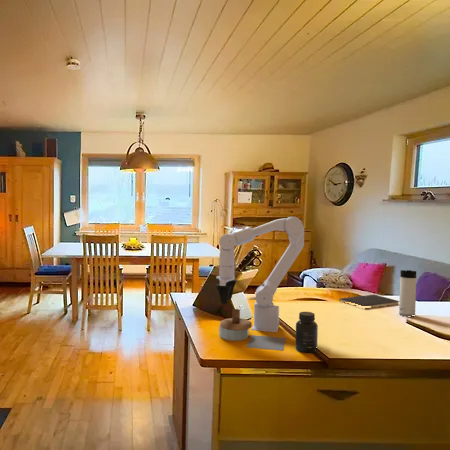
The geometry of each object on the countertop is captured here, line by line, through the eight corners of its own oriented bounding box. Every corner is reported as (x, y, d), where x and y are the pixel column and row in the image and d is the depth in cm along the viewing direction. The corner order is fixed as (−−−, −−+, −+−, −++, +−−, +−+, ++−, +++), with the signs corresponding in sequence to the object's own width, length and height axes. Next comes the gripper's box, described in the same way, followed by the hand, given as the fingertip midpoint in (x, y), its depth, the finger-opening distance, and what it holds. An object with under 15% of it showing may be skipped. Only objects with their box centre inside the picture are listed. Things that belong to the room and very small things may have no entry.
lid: (254, 322, 135) (255, 307, 135) (247, 331, 125) (247, 315, 124) (225, 319, 138) (225, 304, 138) (216, 328, 128) (216, 312, 128)
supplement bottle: (292, 346, 123) (293, 310, 122) (313, 346, 123) (314, 310, 123) (298, 354, 116) (299, 316, 115) (320, 354, 116) (321, 316, 116)
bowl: (250, 333, 136) (250, 322, 135) (245, 342, 126) (245, 330, 126) (223, 330, 138) (223, 320, 138) (216, 340, 128) (216, 328, 128)
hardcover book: (399, 305, 181) (399, 301, 181) (363, 310, 171) (363, 305, 171) (373, 298, 195) (373, 294, 195) (339, 302, 185) (339, 298, 185)
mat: (285, 339, 130) (285, 338, 130) (283, 351, 118) (283, 350, 118) (251, 336, 132) (251, 335, 132) (245, 348, 121) (245, 347, 121)
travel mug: (399, 316, 160) (400, 269, 159) (398, 312, 166) (400, 267, 165) (415, 318, 158) (417, 271, 157) (414, 314, 164) (415, 268, 163)
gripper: (221, 262, 150) (220, 296, 150) (211, 267, 136) (211, 305, 136) (238, 263, 148) (237, 297, 149) (230, 268, 134) (230, 306, 135)
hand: (226, 301), depth 142 cm, fingers open, 7 cm apart
